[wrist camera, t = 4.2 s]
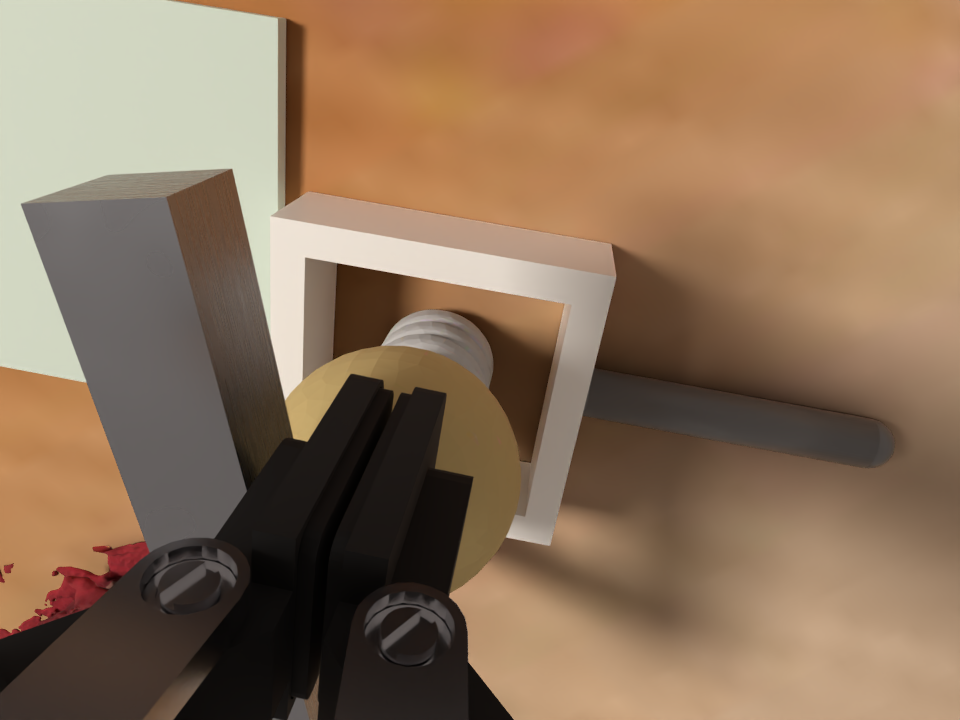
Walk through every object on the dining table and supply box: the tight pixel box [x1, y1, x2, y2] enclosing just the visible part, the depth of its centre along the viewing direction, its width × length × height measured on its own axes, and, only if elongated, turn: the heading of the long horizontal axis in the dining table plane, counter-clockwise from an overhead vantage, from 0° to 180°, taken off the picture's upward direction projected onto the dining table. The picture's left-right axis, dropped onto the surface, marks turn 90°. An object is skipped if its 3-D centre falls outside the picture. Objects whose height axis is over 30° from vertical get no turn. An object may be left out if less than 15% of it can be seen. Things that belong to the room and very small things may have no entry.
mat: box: [0, 0, 286, 382], centre depth 22 cm, size 13×13×1 cm
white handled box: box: [270, 191, 895, 546], centre depth 19 cm, size 20×12×10 cm, turn 82°
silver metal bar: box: [21, 169, 319, 720], centre depth 13 cm, size 3×16×2 cm, turn 4°
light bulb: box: [285, 309, 521, 593], centre depth 19 cm, size 6×6×10 cm
